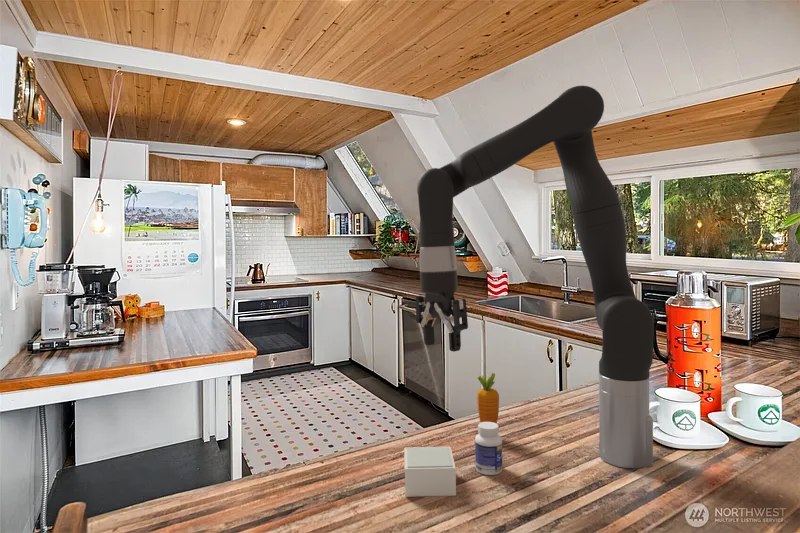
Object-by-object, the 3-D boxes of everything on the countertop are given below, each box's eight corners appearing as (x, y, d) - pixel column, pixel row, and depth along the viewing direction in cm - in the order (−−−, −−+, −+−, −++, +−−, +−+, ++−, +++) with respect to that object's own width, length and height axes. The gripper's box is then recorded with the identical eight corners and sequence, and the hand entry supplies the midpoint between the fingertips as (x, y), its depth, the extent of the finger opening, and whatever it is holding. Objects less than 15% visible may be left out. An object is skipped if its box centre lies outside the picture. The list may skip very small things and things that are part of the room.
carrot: (475, 441, 109) (474, 375, 108) (480, 433, 114) (479, 369, 113) (497, 444, 107) (496, 377, 106) (501, 435, 112) (500, 371, 111)
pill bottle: (502, 476, 92) (502, 431, 92) (474, 474, 94) (474, 429, 93) (502, 464, 98) (501, 420, 97) (476, 462, 99) (475, 419, 98)
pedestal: (450, 471, 95) (450, 445, 95) (456, 495, 86) (455, 466, 86) (404, 472, 95) (404, 446, 95) (405, 496, 86) (404, 468, 86)
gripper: (475, 268, 95) (478, 350, 96) (432, 267, 107) (435, 340, 108) (445, 271, 91) (449, 356, 92) (403, 269, 103) (407, 345, 104)
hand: (441, 347), depth 100 cm, fingers open, 8 cm apart
